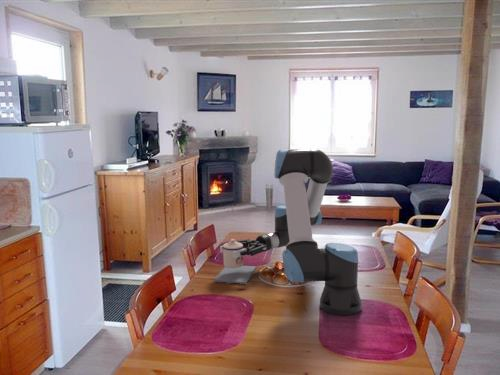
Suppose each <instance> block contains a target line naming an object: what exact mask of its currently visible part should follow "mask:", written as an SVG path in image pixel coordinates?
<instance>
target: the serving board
mask: <svg viewBox="0 0 500 375" xmlns="http://www.w3.org/2000/svg"><path fill="white" fill-rule="evenodd" d="M256 269H257V266H255V265H254V266H253V265H242V266H241V267H238V268H227V267H225V266H224V267H223V268H222V270H221V271H219V273H218V274H217V276H216V277H215V278H214V279H213V280H214V281H213V282H214V283H216V282H226V283H225V284H230V283H240V284H239V285H243V284H246V283H247V282H248V283H249V281H250V279H251V278H252V276H253V274H254V273H253V272H256V271H255V270H256ZM250 277H251V278H250ZM248 280H249V281H248ZM248 283H247V284H248ZM247 284H246V285H247Z"/></svg>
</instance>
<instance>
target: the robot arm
mask: <svg viewBox="0 0 500 375" xmlns="http://www.w3.org/2000/svg"><path fill="white" fill-rule="evenodd" d="M333 168H334V167H333V163H332V161H331V159H330V158H329V156H328V155H327V154H326V153H325V152H324V151H322V150H320V149H318V148H298V149H297V148H296V149H295V148H294V149H293V148H292V149H289V148H287V149H279V150H278V151H277V152H276V156H275V160H274V173H273V174H274V178H275V179H277V180H278V183H279V184H280V185H281V186H283V192H284V203H285V205H277V206H276V207H275V208H274V232H269V233H266V234H261V235H258V236H257V237H256V239H250V238H246V239H242V240H241V239H240V240H235V241H236V242H238V243H241V244H243V249H241V250H237V251H233V258H236V257H240V256H243V257H244V256H246V255H247V256H249V255H250V257H253V256H256V255H258V254H261V253H264V252H267V251H273V250H274V249H279V248H282V247H285V249H284V250H283V251H282V255H281V256H282V264H283V270H284V274H285V276H286V278H287V280H288V281H289V282H292V283H300V284H303V283H311V282H313V283H314V282H324V287H323V290H322V292H321V295H320V297H319V298H320V299H319V307H320V308H321V310H323V311H324V312H326V313H328V314H331V315H336V316H352V315H356V314H358V313H359V312H361V311H362V305H363V304H362V303H363V302H362V299H361V296H360V293H359V289H358V277H359V274H358V272H359V262H360V261H359V252H358V250H357V249H356V248H355V247H353V246H351V245H349V244H345V243H340V242H328V243H326V244H325V246H324V248H319V247H318V246H319V245H318V242H317V241H316V240H314V239H313V232H312V226H319V225H321V224H322V220H323V214H322V210H320V209H321V205H322V203H323V200H324V199H323V198H324V197H325V192H326V189H327V185H328V183H330V182H331V180H332V179H333V178H332V177H333V175H334V169H333ZM308 181H309V183H308ZM307 183H308V187H307V188H306V184H307ZM219 248H220V249H219V251H220V252H219V253H222V254H223V245H220V247H219Z"/></svg>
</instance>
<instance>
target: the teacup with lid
mask: <svg viewBox="0 0 500 375" xmlns="http://www.w3.org/2000/svg"><path fill="white" fill-rule="evenodd" d="M236 241H237V240H236V239H235V238H232V239H230V241H228V242H226V243H224V244H223V245H222V246H223V252H222V254H223V266H224V267H227V268H238V267H241V266H244V256H240V257H236V258H233V251H237V250H241V249H244V248H243V244H241V243H238V242H236Z"/></svg>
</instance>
